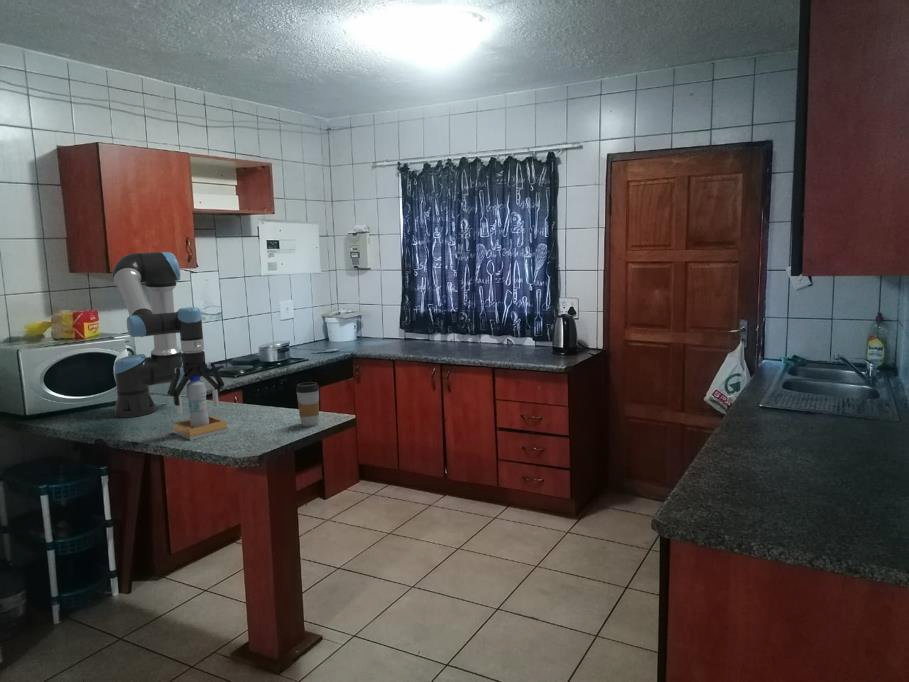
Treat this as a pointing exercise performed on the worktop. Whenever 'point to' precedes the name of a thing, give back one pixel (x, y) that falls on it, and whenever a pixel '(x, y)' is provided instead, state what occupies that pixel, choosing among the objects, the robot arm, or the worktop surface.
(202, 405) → the bottle
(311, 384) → the coffee cup
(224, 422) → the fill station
